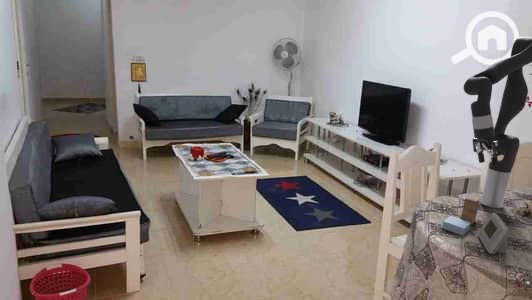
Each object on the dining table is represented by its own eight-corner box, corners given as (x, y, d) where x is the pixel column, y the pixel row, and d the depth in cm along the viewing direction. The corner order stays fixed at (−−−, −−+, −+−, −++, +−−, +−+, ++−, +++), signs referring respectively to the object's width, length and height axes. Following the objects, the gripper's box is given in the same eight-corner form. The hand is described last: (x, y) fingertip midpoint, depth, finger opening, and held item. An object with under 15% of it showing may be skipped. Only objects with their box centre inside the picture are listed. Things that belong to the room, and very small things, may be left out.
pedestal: (449, 222, 177) (450, 215, 176) (469, 229, 172) (470, 222, 171) (442, 228, 171) (443, 221, 170) (463, 235, 166) (464, 228, 165)
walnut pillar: (463, 217, 183) (468, 195, 180) (474, 221, 180) (479, 199, 177) (460, 220, 179) (465, 198, 177) (471, 224, 177) (476, 201, 174)
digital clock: (477, 234, 168) (482, 209, 165) (502, 240, 165) (509, 214, 162) (478, 252, 153) (485, 225, 151) (507, 259, 150) (514, 232, 147)
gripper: (503, 125, 169) (508, 164, 172) (480, 122, 183) (485, 159, 186) (485, 129, 169) (491, 169, 171) (464, 126, 183) (469, 163, 185)
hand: (488, 164), depth 179 cm, fingers open, 8 cm apart
